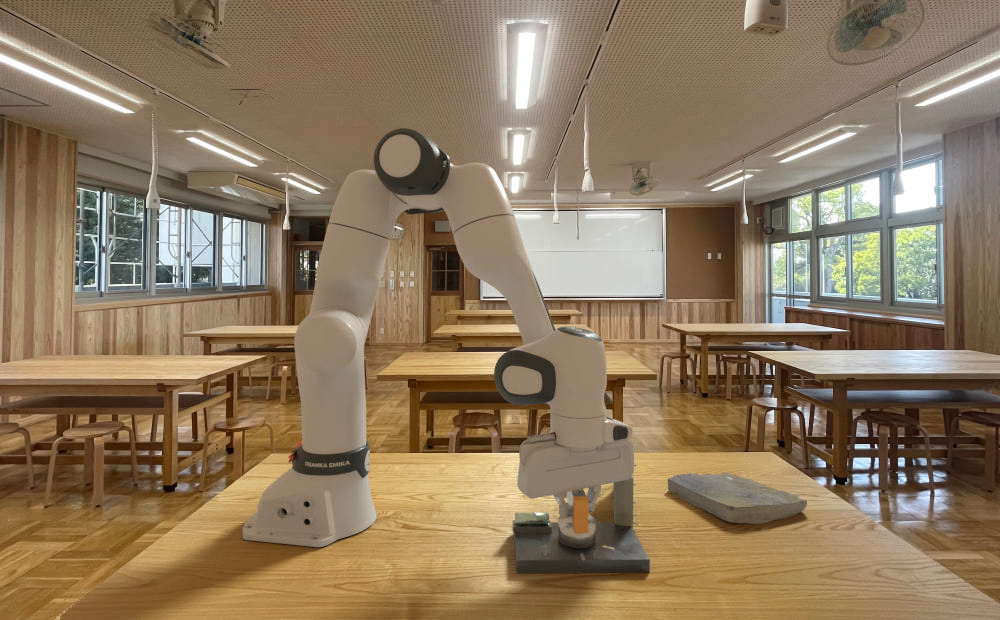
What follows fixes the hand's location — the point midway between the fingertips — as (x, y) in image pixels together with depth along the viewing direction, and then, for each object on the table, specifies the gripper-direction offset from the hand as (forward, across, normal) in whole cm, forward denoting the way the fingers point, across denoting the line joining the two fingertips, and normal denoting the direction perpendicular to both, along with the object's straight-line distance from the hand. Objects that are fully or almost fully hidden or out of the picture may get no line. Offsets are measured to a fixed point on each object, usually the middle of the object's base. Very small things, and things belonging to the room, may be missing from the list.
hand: (576, 513), depth 83 cm
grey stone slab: (+7, +39, +3) cm, 40 cm away
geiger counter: (+7, +17, +11) cm, 21 cm away
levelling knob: (+4, 0, 0) cm, 4 cm away
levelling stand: (+6, 0, 0) cm, 6 cm away
